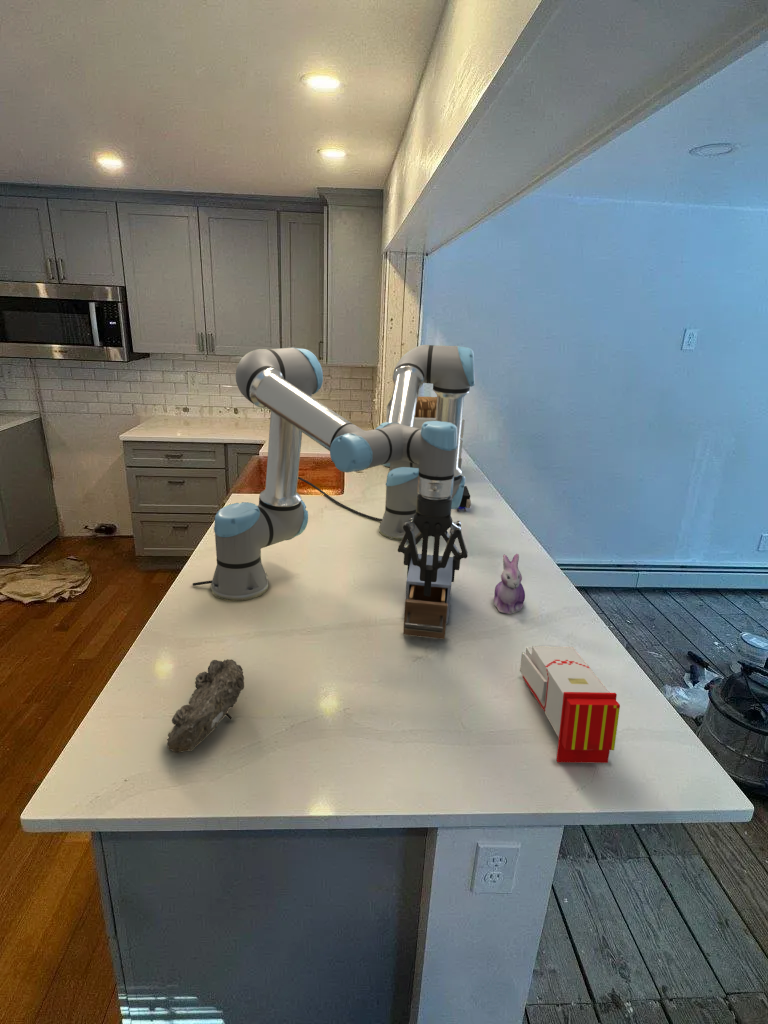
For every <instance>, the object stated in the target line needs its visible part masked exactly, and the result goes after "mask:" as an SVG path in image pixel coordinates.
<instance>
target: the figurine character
mask: <svg viewBox="0 0 768 1024" xmlns="http://www.w3.org/2000/svg"><path fill="white" fill-rule="evenodd" d="M471 501H472V500H471V494H470V491H469V488H468V486H467V485H464V491H463V495H462V499H461V503H460V506H459V507H458V508H457V509H456V511H457V512H460V510H463V511H464V513H466V512H467V509H470V508H471V505H472V504H471ZM466 508H467V509H466Z"/></svg>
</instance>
